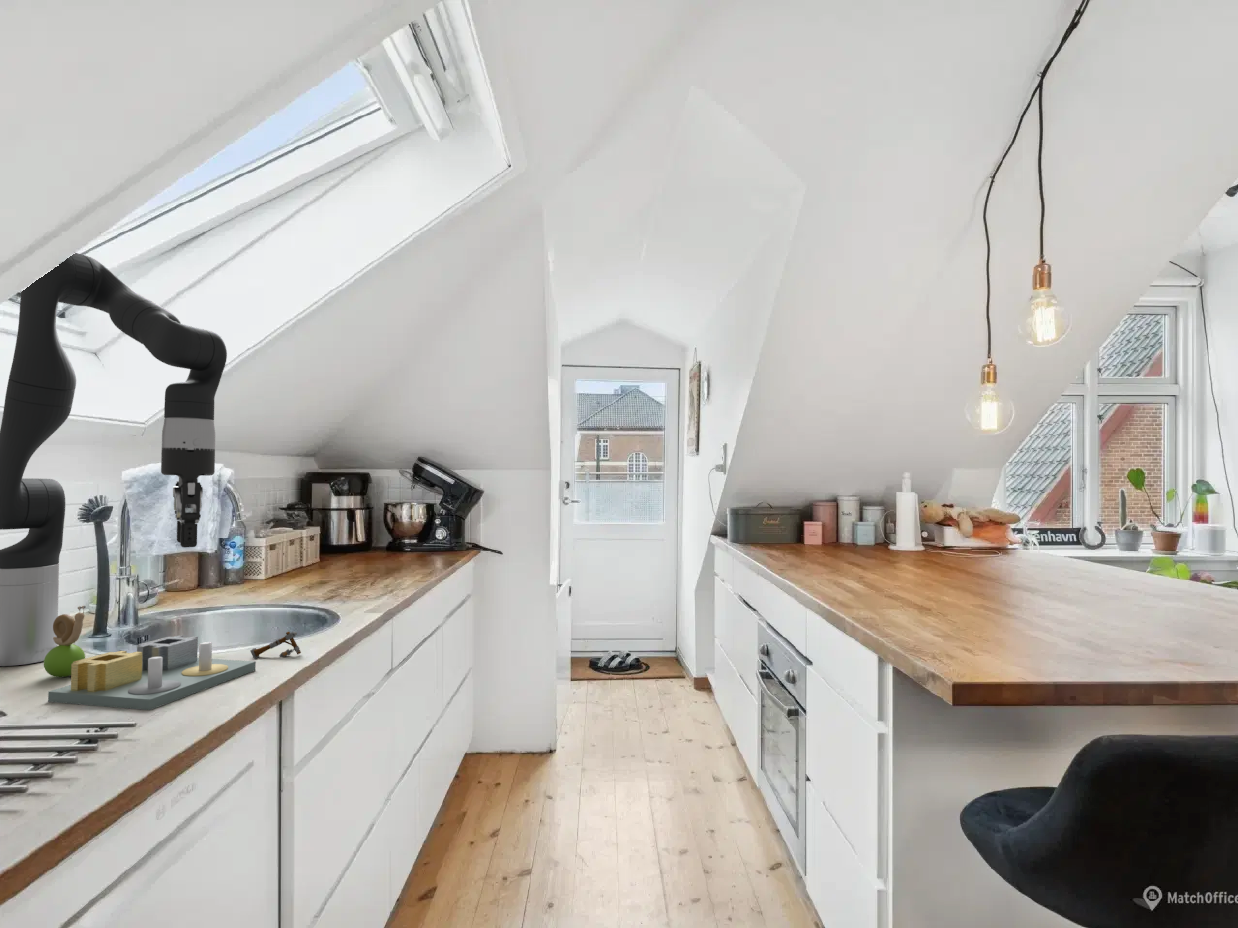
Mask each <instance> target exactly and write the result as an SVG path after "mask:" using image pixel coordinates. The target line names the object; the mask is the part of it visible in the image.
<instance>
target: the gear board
mask: <svg viewBox="0 0 1238 928" xmlns="http://www.w3.org/2000/svg"><path fill="white" fill-rule="evenodd" d="M198 644H199V645H198V657H197V662H193V663H190V664H187V665H184V666H181V667H178V668H175V669H172V670H169V671H164V670H163V671H162V659H163V657H152V658H149V659H148V670H144V671H142V677H141V680H138V681H134V682H131V683H128V684H125V685H122V686H119V687H116V688H113V689H110V690H107V691H101V690H100V691H97V692H87V689H83V690H80V691H71V684H70V685H66V686H62V687H59V688H56V689H53V690H49V691H48V692H47V697H48V699H47V702H49V703H59V704H74V705H82V706H83V705H85V706H94V707H95V706H97V707H107V708H108V707H109V708H120V709H122V708H123V709H131V710H132V709H134V710H145V711H146V710H147V711H151V710H154V709H156V708H158V707H161V706H164V705H167V704H169V703H172V702H175V701H177V700H180V699H182V698H185V697H188V696H191V695H193V694H195V693H199V692H201V691H204V690H206V689H209V688H212V687H215V686H217V685H220V684H223V683H225V682H228V681H230V680H233V679H236V678H239V677H241V676H244V675H246V674H248V673H249V674H250V673H251V672H254V671H256V661H253V660H238V659H237V660H236V659H235V660H234V659H222V658H221V659H220V658H213V654H212V653H213V642H211V641H206V642H200V643H198Z"/></svg>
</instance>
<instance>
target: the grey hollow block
mask: <svg viewBox="0 0 1238 928" xmlns="http://www.w3.org/2000/svg"><path fill="white" fill-rule="evenodd" d="M198 638H199V636H196V635H194V636H188V637H184V635H174V636H165V637H162V638H159V639H154V640H151V641H146V642H143V643H139V644H137V646H136V652H142V671H144V670H148V659H149V658H152V657H163V659H162V671H163V670H164V671H169V670H172V669H175V668H178V667H181V666H184V665H187V664H190V663H193V662H197V658H198V652H199V645H198V644H199V643H198V642H199V641H198V640H199V639H198Z"/></svg>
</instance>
